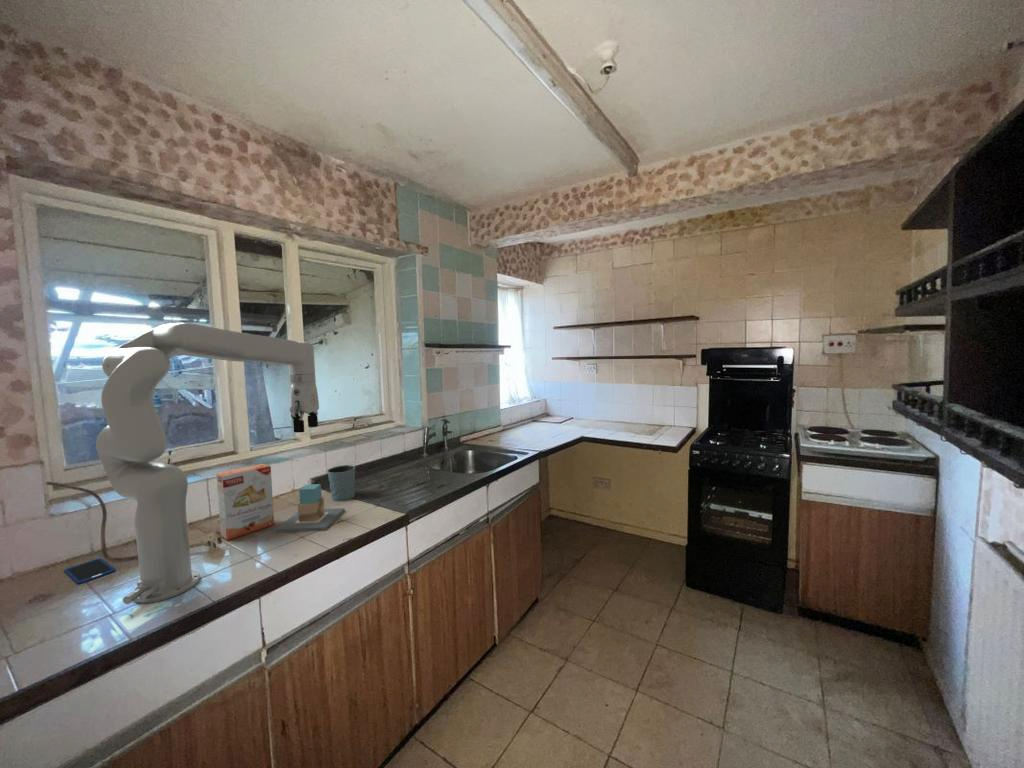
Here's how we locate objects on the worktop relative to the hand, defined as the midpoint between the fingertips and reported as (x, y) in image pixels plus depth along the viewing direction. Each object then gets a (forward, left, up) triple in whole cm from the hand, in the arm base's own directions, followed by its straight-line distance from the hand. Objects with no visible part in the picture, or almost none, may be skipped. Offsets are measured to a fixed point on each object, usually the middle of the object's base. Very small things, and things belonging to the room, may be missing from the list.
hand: (306, 429), depth 134 cm
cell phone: (-28, +47, -33) cm, 64 cm away
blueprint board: (0, 0, -32) cm, 32 cm away
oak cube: (0, 0, -31) cm, 31 cm away
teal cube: (0, 0, -25) cm, 25 cm away
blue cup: (+22, -2, -32) cm, 39 cm away
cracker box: (-6, +18, -32) cm, 38 cm away
